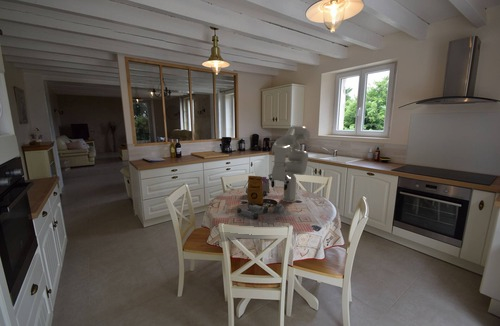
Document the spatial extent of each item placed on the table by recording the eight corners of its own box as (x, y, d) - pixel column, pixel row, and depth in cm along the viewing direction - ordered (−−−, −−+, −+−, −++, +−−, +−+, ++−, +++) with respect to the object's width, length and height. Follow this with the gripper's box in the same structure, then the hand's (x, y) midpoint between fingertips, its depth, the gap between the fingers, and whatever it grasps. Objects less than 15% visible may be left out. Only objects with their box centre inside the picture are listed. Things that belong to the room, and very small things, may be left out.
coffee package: (261, 206, 169) (261, 178, 164) (245, 204, 172) (245, 176, 168) (264, 201, 178) (265, 175, 174) (249, 199, 182) (249, 173, 177)
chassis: (251, 206, 168) (251, 201, 167) (268, 211, 159) (268, 205, 158) (236, 214, 153) (236, 209, 153) (254, 220, 145) (254, 214, 144)
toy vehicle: (245, 194, 195) (245, 177, 192) (266, 192, 201) (266, 176, 198) (248, 197, 187) (248, 180, 184) (269, 195, 192) (270, 178, 189)
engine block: (277, 209, 162) (277, 203, 161) (283, 211, 159) (283, 204, 158) (273, 212, 157) (273, 206, 156) (279, 214, 155) (279, 207, 154)
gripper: (293, 164, 149) (292, 189, 153) (271, 162, 159) (270, 184, 162) (289, 166, 143) (288, 192, 147) (266, 163, 153) (265, 187, 156)
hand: (279, 188), depth 155 cm, fingers open, 9 cm apart
